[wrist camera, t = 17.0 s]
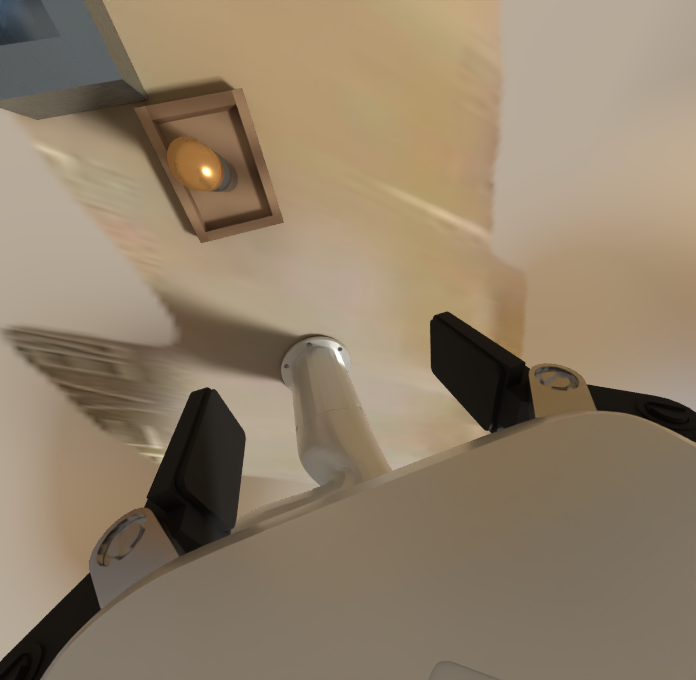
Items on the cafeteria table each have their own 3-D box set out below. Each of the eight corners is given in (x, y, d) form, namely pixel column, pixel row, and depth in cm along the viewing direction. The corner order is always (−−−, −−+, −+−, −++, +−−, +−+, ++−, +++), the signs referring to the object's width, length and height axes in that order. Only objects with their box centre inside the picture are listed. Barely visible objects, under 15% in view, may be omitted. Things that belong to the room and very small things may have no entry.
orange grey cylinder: (229, 154, 27) (204, 131, 17) (242, 188, 29) (226, 185, 19) (200, 161, 27) (156, 141, 17) (214, 195, 28) (183, 195, 18)
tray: (283, 220, 32) (283, 222, 30) (205, 240, 31) (201, 243, 29) (244, 96, 26) (242, 88, 24) (144, 115, 24) (133, 108, 23)
